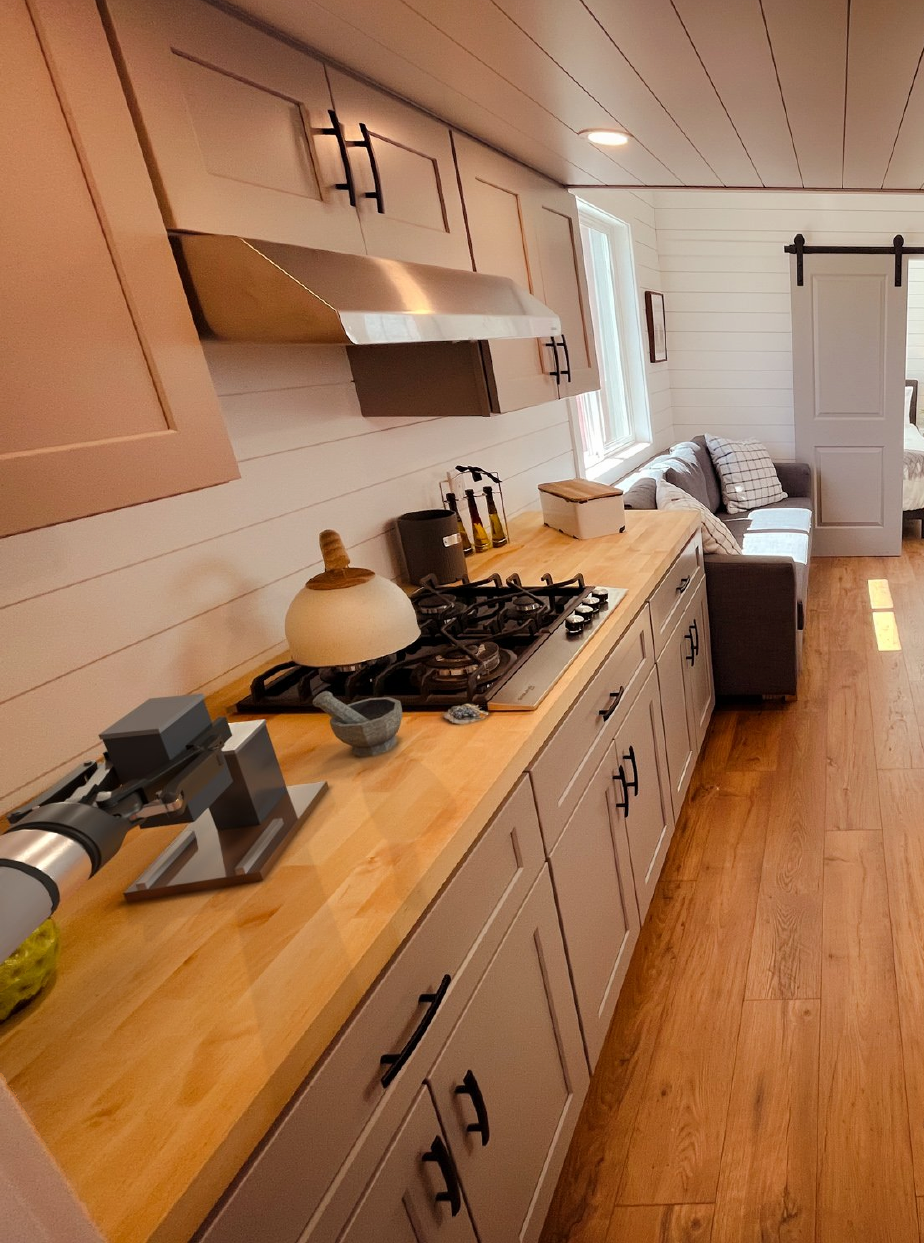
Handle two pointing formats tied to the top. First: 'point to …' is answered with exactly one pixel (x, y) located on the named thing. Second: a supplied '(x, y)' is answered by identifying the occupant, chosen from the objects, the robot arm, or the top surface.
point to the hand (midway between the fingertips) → (196, 729)
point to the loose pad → (162, 748)
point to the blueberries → (464, 714)
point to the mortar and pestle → (363, 722)
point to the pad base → (231, 848)
